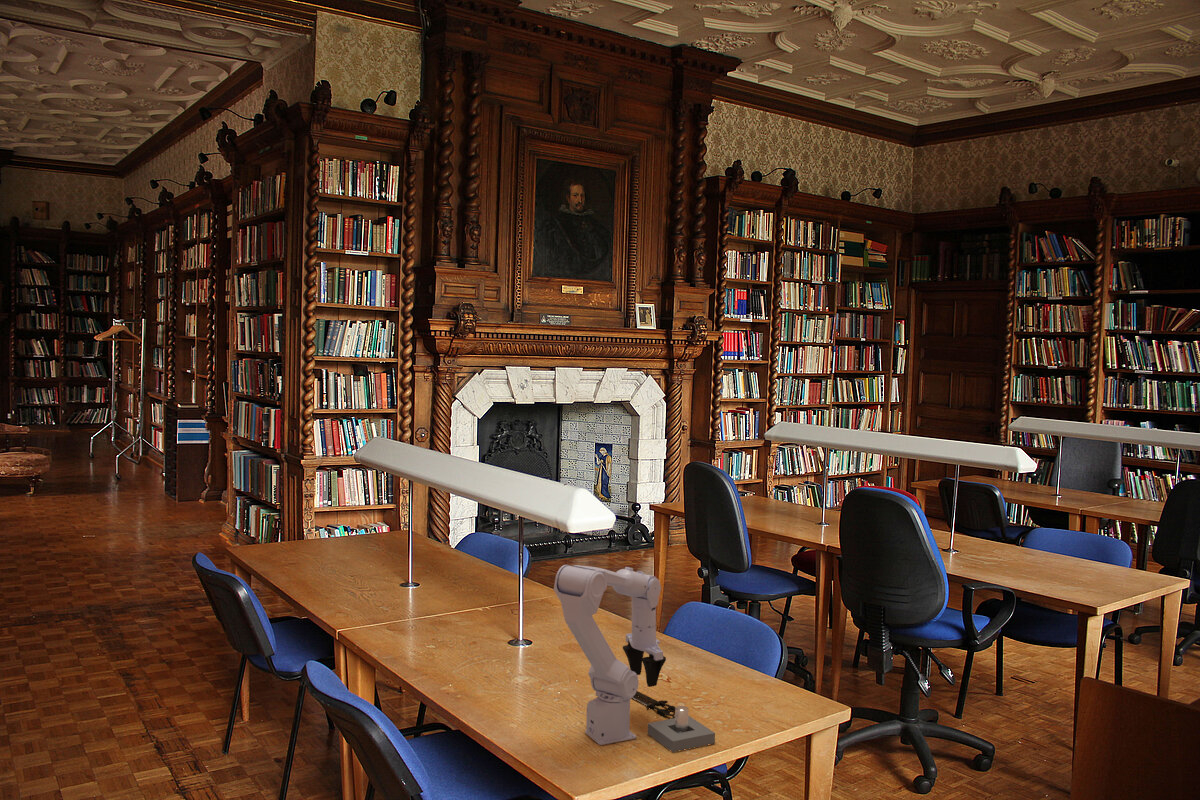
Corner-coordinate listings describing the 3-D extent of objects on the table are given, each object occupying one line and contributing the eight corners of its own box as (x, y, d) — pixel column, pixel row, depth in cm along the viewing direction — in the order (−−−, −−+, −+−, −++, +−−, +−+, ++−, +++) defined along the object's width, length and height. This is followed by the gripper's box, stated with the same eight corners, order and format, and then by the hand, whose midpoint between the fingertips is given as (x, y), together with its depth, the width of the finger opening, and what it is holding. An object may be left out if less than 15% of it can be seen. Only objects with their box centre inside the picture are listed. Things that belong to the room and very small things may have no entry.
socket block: (672, 752, 202) (672, 741, 201) (647, 733, 211) (647, 723, 211) (714, 743, 207) (715, 732, 206) (688, 726, 216) (688, 715, 216)
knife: (612, 690, 240) (612, 685, 240) (633, 686, 243) (633, 681, 243) (667, 724, 218) (667, 718, 218) (690, 719, 221) (690, 713, 221)
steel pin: (678, 742, 207) (679, 711, 207) (672, 737, 210) (672, 707, 209) (690, 740, 208) (691, 709, 208) (683, 735, 211) (684, 705, 211)
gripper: (674, 630, 214) (674, 687, 215) (643, 613, 227) (643, 667, 228) (647, 635, 211) (648, 693, 212) (618, 617, 223) (618, 672, 225)
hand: (644, 680), depth 219 cm, fingers open, 7 cm apart
